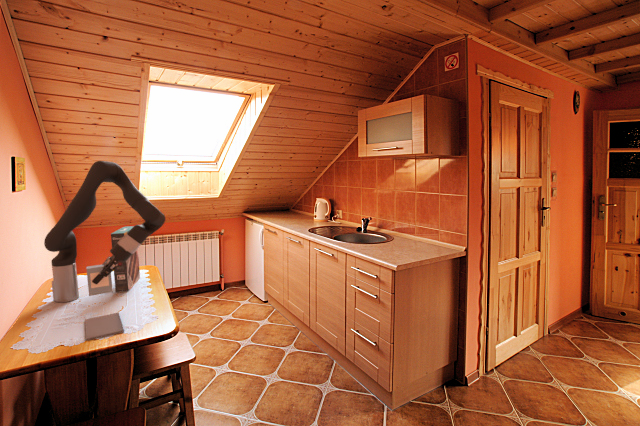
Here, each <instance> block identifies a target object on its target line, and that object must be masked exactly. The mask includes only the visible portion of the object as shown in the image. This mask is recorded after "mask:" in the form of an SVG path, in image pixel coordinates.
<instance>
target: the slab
mask: <svg viewBox="0 0 640 426" xmlns="http://www.w3.org/2000/svg"><path fill="white" fill-rule="evenodd" d="M104 265H105V264H104ZM104 265H103V263H102V264H94V265H89V266H86V276H87V277H86V279H87V280H86V281H87V287H88V288H87V289H88V296H89V297H91V296H92V297H93V296H98V295H102V294H109V293H113V291H114V290H113V281H112V272H111V273H110V274H109V275H108V276H107V277H104V278H103V279H102V280H101V281H100V282H99V283H98V284H94V283H93V282H92V280H93V279H94V278H95V277H96V276H97V275H98V274H99V272H101V270H102V267H103V266H104ZM105 273H107V271H105Z"/></svg>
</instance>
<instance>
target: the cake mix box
mask: <svg viewBox="0 0 640 426" xmlns="http://www.w3.org/2000/svg"><path fill="white" fill-rule="evenodd" d="M134 226H135V225H132V226H130V225H129V226H128V225H127V226H123V227H121V228H119V229H117V230H115V231H114V232H111V233H110V241H111V249H112V248H113V247H114V246H115V245H116V244H117V242H118V241H119V240H120V239H121V238H122V237H124V236H125V235H126V234H127V233H128V232H129V231H130V230H131V229H132V228H133V227H134ZM112 255H113V254H112V253H111V256H112ZM139 259H140V258H139V248H138V249H137V250H136V251H135V252H134V253H133V254H132V256H131V257H130V258H129V259H128V260H127V261H126V262H123V261H122V260H120V261H119V262H118V265H117V268H115V269H114V270H113V276H114V277H113V278H114V288H115V293H119V292H120V293H121V292H122V293H123V292H129V291H130V290H131V289H132V288H133V286H135V284H136V283H137V282H138V281H139V280H140V279H141V273H140V260H139Z"/></svg>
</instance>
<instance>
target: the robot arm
mask: <svg viewBox="0 0 640 426" xmlns="http://www.w3.org/2000/svg"><path fill="white" fill-rule="evenodd" d="M103 183H112V184H115V186H117V187H118V188H120V190H121V192H122V196H123V199H124V200H125V202H126V203H127V204H128V205H129V206H130V207H131V208H132V209H133V210H134V211H135V212H136V213H137V214H138V215H139V216H140V218H142V219H143V221H144V222H142V223H141V224H135V225H133V226H134V227H133V228H132V229H131V230H130V231H129V232H128V233H127V234H126V235H125V236H124V237H122V238H121V239H120V240H119V241H118V242H117V244H116V245H115V246H114V247H113V248H112V247H111V249H109V253H110V254H111V256H107V258H105V260H104V261H103V262H102V264H103V265H104V264H105V265H104V266H103V267H102V270H101V272H99V274H98V275H97V276H96V277H95V278H94V279H93V280H92V282H93V283H94V284H98V283H99V282H100V281H101V280H102V279H103V278H104V277H107V276H108V275H109V274H110V273H111V274H112V272H114V269H115V268H117V265H118V262H119V261H120V260H122V261H123V262H126V261H127V260H128V259H129V258H130V257H131V256H132V254H133V253H134V252H135V251H136V250H137V249H138V250H139V248H140V246H141V245H142V244H143V243H144V242H145V241H146V239H148V237H149V236H151V235H153V234H154V233H155V232H156V231H158V230H159V229H161V227H162V226H164V224H165V223H166V216H165V214H164V213H163V212H162V211H161V210H160V209H159V208H158V207H157V206H155V205H154V204H153V203H152V202H151V201H150V200H149V199H148V198H147V197H146V196H145V195H144V194H143V193H142V192H141V191H140V190H139V189H138V188H137V187H136V185H135V184H134V183H133V182H132V180H131V178H130V177H129V176H128V175H127V173H126V172H125V170H124V169H123V168H122V167H121V165H119V164H118V163H117V162H113V161H105V160H97V161H95V162H94V163H93V164H92V165H91V166H90V167H89V169H88V172H87V174H86V176H85V178H84V180H83V183H82V184H81V186H80V188H79V189H78V191H77V192H76V194H75V195H74V197H73V199H72V200H71V201H70V203H69V204H68V206H67V208H66V210H65V211H64V212H63V214H62V215H61V216H60V218H59V220H58V221H57V222H56V224H55V225H54V226H53V227H52V228H51V230H50V231H49V232H48V233H47V234H46V236H45V238H44V247H45V249H46V250H47V251H48V252H53V253H55V252H58V254H57V255H56V256H55V257H53V258H52V259H51V260H50V261H51V262H50V263H51V270H52V271H51V272H52V281H51V288H52V301H53V302H54V301H55V302H56V303H66V302H73V301H75V300H77V299H79V297H80V294H79V292H80V291H79V283H78V281H79V280H78V271H77V261H76V259H77V256H78V248H77V247H78V245H77V244H78V242H77V238H76V235H75V233H74V231H73V230H75V229H76V228H77V227H79V226H80V225H82V223H84V222H86V221H87V220H88V219H89V217H90V216H91V215H92V213H93V212H94V210H95V209H96V208H97V207H96V206H97V195H96V193H97V191H98V189H99V188H100V187H101V185H102V184H103ZM112 254H113V255H112ZM105 271H107V273H105Z"/></svg>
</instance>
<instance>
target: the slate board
mask: <svg viewBox="0 0 640 426" xmlns="http://www.w3.org/2000/svg"><path fill="white" fill-rule="evenodd" d="M84 323H85V338H86V341H87V342H88V341H92V340H96V339H99V338H105V337H109V336H112V335H116V334H121V333H125V329H124V325H123V322H122V319H121V316H120V313H119V312H115V313H110V314H105V315H100V316H96V317H90V318H86V319H84Z"/></svg>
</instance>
